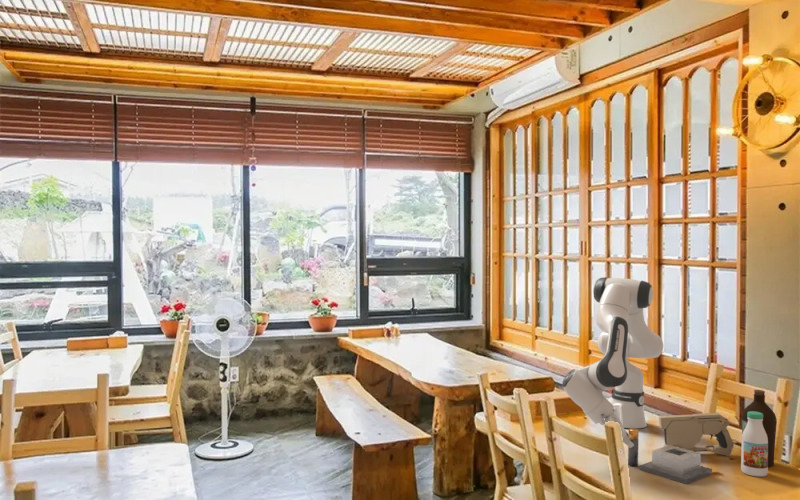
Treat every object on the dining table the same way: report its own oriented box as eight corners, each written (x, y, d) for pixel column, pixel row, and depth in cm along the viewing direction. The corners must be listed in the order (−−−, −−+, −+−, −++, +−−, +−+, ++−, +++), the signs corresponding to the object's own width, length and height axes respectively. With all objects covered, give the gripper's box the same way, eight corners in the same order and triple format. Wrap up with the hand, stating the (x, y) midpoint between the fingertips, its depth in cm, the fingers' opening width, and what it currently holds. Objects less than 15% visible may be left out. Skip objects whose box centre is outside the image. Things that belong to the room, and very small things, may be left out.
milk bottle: (735, 470, 215) (736, 410, 215) (752, 468, 218) (753, 408, 217) (755, 478, 208) (756, 416, 208) (773, 475, 210) (774, 414, 210)
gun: (731, 453, 233) (727, 411, 233) (734, 456, 230) (731, 414, 230) (661, 456, 235) (658, 415, 235) (664, 459, 232) (661, 417, 232)
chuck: (640, 469, 214) (640, 450, 214) (666, 460, 224) (666, 441, 224) (686, 484, 202) (687, 463, 202) (712, 473, 212) (712, 453, 212)
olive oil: (764, 457, 228) (766, 387, 228) (782, 468, 218) (783, 394, 218) (734, 457, 228) (736, 387, 228) (750, 467, 218) (752, 393, 218)
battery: (626, 464, 219) (626, 429, 219) (631, 462, 221) (632, 428, 221) (634, 467, 217) (635, 431, 217) (639, 465, 219) (640, 430, 218)
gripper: (610, 412, 210) (642, 445, 208) (604, 398, 230) (633, 427, 228) (596, 425, 211) (627, 457, 209) (591, 410, 231) (619, 439, 229)
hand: (630, 442), depth 219 cm, fingers open, 8 cm apart
